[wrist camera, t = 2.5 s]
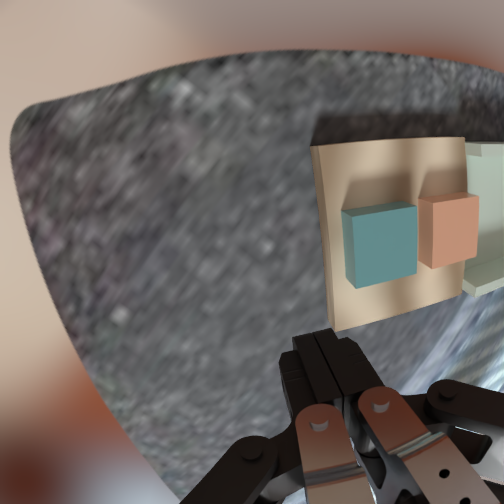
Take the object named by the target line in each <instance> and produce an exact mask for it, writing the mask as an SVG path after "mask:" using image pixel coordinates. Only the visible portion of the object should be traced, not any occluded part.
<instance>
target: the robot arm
mask: <svg viewBox="0 0 504 504" xmlns="http://www.w3.org/2000/svg"><path fill="white" fill-rule="evenodd" d="M292 343H293V351H288V352H284V353H282V354H281V357H280V360H279V368H280V374H281V380H282V387H283V392H284V396H285V399H286V403H287V407H288V410H289V414H290V418H291V424H290V425H289V427H288V428H287V429H286V430H285V431H283V432H282V433H280V434H279V435H277V436H275V437H272V438H270V439H268V438H266V437H262V436H248V437H244V438H241V439H239V440H238V441H236V442H235V443H234V444H233V445H232V446H231V447H230V448H229V449H228V450H227V452H226V453H225V454H224V455H223V456H222V457H221V459H220V460H219V461H218V462H217V463H216V464H215V465H214V467H213V468H212V469H211V470H210V471H209V472H208V473H207V474H206V476H205V477H204V478H203V479H202V480H201V481H200V482H199V483H198V484H197V485H196V486H195V488H194V489H193V490H192V491H191V492H190V493H189V494H188V495H187V496H186V497H185V498H184V499H183V500H182V501H181V502H180V503H179V504H282V503H283V501H284V500H285V498H286V496H288V495H290V494H292V493H294V492H296V491H298V490H300V489H301V488H303V487H304V490H305V496H306V502H307V504H375V501H374V498H373V495H372V492H371V488H370V486H371V487H372V489H373V491H374V493H375V496H376V501H377V504H504V485H500V484H498V483H494V482H491V481H487V480H483V479H481V477H480V476H483V477H487V478H491V479H495V480H499V481H503V482H504V393H500V392H496V391H492V390H488V389H484V388H481V387H477V386H473V385H469V384H465V383H462V382H458V381H454V380H449V379H444V380H439V381H437V382H435V383H433V384H432V385H431V386H430V387H429V388H428V391H427V393H426V394H418V395H400V394H399V393H398V392H397V391H396V390H394V389H392V388H389V387H385V385H384V384H383V382H382V381H381V379H380V378H379V376H378V375H377V373H376V371H375V370H374V368H373V367H372V365H371V364H370V362H369V361H368V360H367V358H366V356H365V355H364V354H363V351H362V350H361V348H360V347H359V345H358V344H357V343H356V342H354V341H353V340H351V339H349V338H348V337H345V338H342V339H338V338H337V336H336V335H335V333H334V331H333V330H332V328H328V329H324V330H320V331H316V332H312V333H308V334H303V335H299V336H295V337H292ZM455 426H456V427H460V428H463V429H467V430H470V431H474V432H477V433H481V434H484V435H481V434H477V433H473V432H470V431H466V430H463V429H460V428H456V427H455ZM350 437H351V438H352V441H353V443H354V451H353V448H352V444H351V441H350ZM356 459H357V460H356ZM357 461H358V463H359V465H360V466H359V465H358V463H357ZM369 484H370V485H369Z"/></svg>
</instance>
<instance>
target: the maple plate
mask: <svg viewBox="0 0 504 504" xmlns="http://www.w3.org/2000/svg"><path fill="white" fill-rule="evenodd" d="M310 150H311V157H312V164H313V171H314V179H315V187H316V194H317V203H318V211H319V220H320V229H321V239H322V249H323V260H324V272H325V284H326V298H327V313H328V320H329V322H330V324H331V326H332V327H333V329H334V331H335V332H337V331H341V330H345V329H349V328H352V327H356V326H360V325H364V324H367V323H371V322H375V321H378V320H382V319H385V318H389V317H392V316H396V315H399V314H402V313H406V312H409V311H412V310H415V309H418V308H422V307H425V306H428V305H431V304H434V303H437V302H440V301H443V300H446V299H449V298H452V297H454V296H457V295H460V294H462V284H463V278H464V268H465V260H463V261H460V262H456V263H453V264H449V265H446V266H442V267H439V268H435V269H430V268H429V267H427V266H426V265H424V264H423V263H421V262H420V261H418V244H419V224H418V198H423V197H429V196H436V195H443V194H450V193H457V192H467V193H468V183H467V160H466V151H465V137H417V138H396V139H381V140H367V141H355V142H345V143H335V144H325V145H317V146H310ZM398 201H404V202H407V203H410V204H413V205H416V206H417V226H418V243H417V274H414V275H410V276H406V277H402V278H399V279H395V280H391V281H387V282H383V283H379V284H375V285H371V286H367V287H362V288H358V289H355V288H354V286H353V285H352V284H351V283H350V282H349V281H348V280H347V279H346V275H345V258H344V243H343V230H342V219H341V210H347V209H354V208H360V207H366V206H372V205H378V204H385V203H391V202H398Z"/></svg>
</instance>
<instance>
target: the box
mask: <svg viewBox="0 0 504 504" xmlns="http://www.w3.org/2000/svg"><path fill="white" fill-rule="evenodd" d="M465 151H466V160H467V183H468V193H470V194H474V195H477V196H479V225H478V243H477V255H476V257H473V258H470V259H467V260H465V268H464V278H463V284H462V289H463V290H464V291H466V292H467V293H468V294H470V295H471V296H473V297H474V298H476V297H478V296H481V295H483V294H486V293H488V292H491V291H493V290H496V289H498V288H500V287H503V286H504V142H484V141H470V142H465Z"/></svg>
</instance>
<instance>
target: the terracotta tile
mask: <svg viewBox="0 0 504 504" xmlns="http://www.w3.org/2000/svg"><path fill="white" fill-rule="evenodd" d="M418 224H419V244H418V261H420V262H421V263H423V264H424V265H426V266H427V267H429V268H430V269H435V268H439V267H442V266H446V265H449V264H453V263H456V262H460V261H463V260H467V259H470V258H473V257H476V255H477V243H478V225H479V196H477V195H474V194H470V193H467V192H457V193H450V194H443V195H436V196H429V197H423V198H418Z"/></svg>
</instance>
